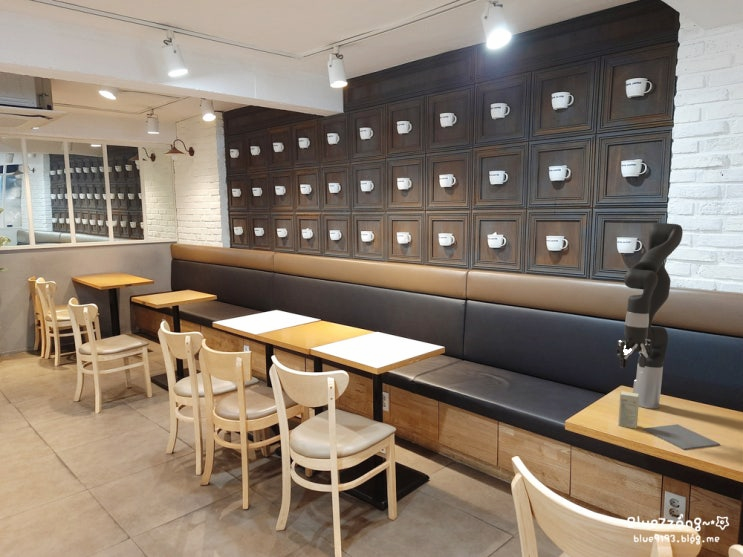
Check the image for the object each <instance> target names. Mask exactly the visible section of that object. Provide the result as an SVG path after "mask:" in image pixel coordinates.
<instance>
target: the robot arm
mask: <svg viewBox="0 0 743 557" xmlns="http://www.w3.org/2000/svg"><path fill="white" fill-rule="evenodd" d="M683 231H684V229H683V227H682V225H680V224H677V223H668V222H667V223H666V222H654V223H652V224H651V225H650V229H649V232H648V247H647V251H646V252H645V253H644V254H643V255H642V256H641V258H640V260H639V262H637V263H636V264H634V265H633V266H631V267H630V268H629V269H628V270H627V271H626V273H625V275H624V277H623V278H624V279H623V283H624V285H625V286H626V287H627V288H629V289H634V290H635V289H636V290H642V291H643V292H642V294H635V295H630V296H629V297H628V299H627V308H626V315H625V322H624V323H625V324H624V330H623V331H624V332H623V336H625V339H624V340H621V339H618V340H617V342H616V349H615V350H616V351H615V356H616V357H618V358H619V367H620V369H622V370H627V367H628V366H627V365H628V357H630V356H631V355H632V354H633V353H638V354H639V356H638V358H637V364H636V365H637V368H636V375H635V376H636V377H635V379H634V380H633V386H632V387H633V388H632V391H633V392H632V393H637V394H639V405H638V407H641V408H645V409H653V410H654V409H658V408H660V402H661V401H660V400H661V389H662V381H663V372H664V371H663V370H664V363H665V360H666V357H667V349H668V343H669V334H668V331H667V329H666V328H665V327H663V326H660V325H659V326H656V325H655V326H653V325H652V323H653V319H654V318H655V315H656V314H657V312H658V311H659V310H660V309H661V307H662V306H663V305H664V304H665V302H666V301H667V300H668V298H669V295H670V288H671V277H670V275H669V272H668V271H667V269H666V268H665V266H664V262H665V260H666V259H667V258H668V257H669V256H670V255H671V254H672V253H673V252H674V251H675V250H676V249H677V248H678V247H679V245H680V244H681V242H682V240H683V234H684V232H683Z"/></svg>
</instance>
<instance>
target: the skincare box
mask: <svg viewBox="0 0 743 557" xmlns="http://www.w3.org/2000/svg"><path fill="white" fill-rule="evenodd" d="M638 405H639V394H637V393H633V392H629V391H624V390H621V391H620V394H619V407H618V421H617V422H618V424H617V425H618V426H619V427H625V428H630V429H637V427H638V420H639V406H638Z"/></svg>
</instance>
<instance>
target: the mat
mask: <svg viewBox="0 0 743 557" xmlns="http://www.w3.org/2000/svg"><path fill="white" fill-rule="evenodd" d="M642 430H644V431H646V432H647V433H649V434H651V435H654V436H655V437H657V438H659V439H661V440H664V441H665V442H667V443H669V444H672V445H673V446H675V447H677V448H679V449H681V450H683V451H685V450H693V449H694V450H695V449H700V448H708V447H715V446H721V442H720V443H719V442H718V441H715V440H713V439H710V438H709V437H706V436H704V435H702V434H699V433H697V432H695V431H693V430H691V429H689V428H687V427H685V426H682V425H680V424H668V425H662V426H661V425H660V426H659V425H658V426H651V427H643V429H642Z"/></svg>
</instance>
